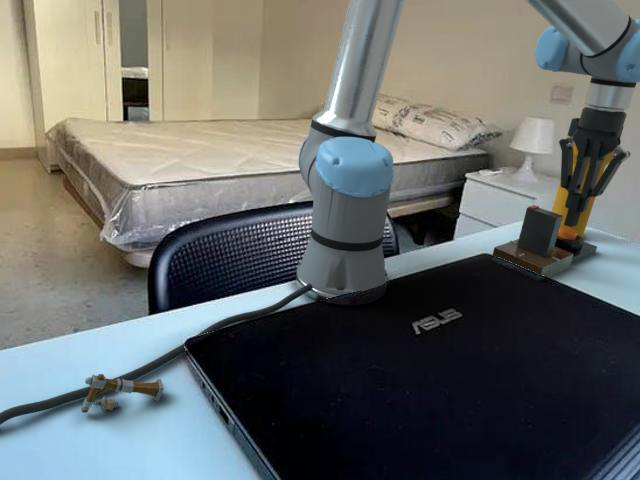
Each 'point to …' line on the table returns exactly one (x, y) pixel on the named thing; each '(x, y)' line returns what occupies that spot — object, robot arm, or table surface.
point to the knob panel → (534, 258)
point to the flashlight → (563, 193)
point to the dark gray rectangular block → (539, 231)
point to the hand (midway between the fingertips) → (570, 224)
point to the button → (567, 233)
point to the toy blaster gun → (123, 386)
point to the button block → (576, 248)
